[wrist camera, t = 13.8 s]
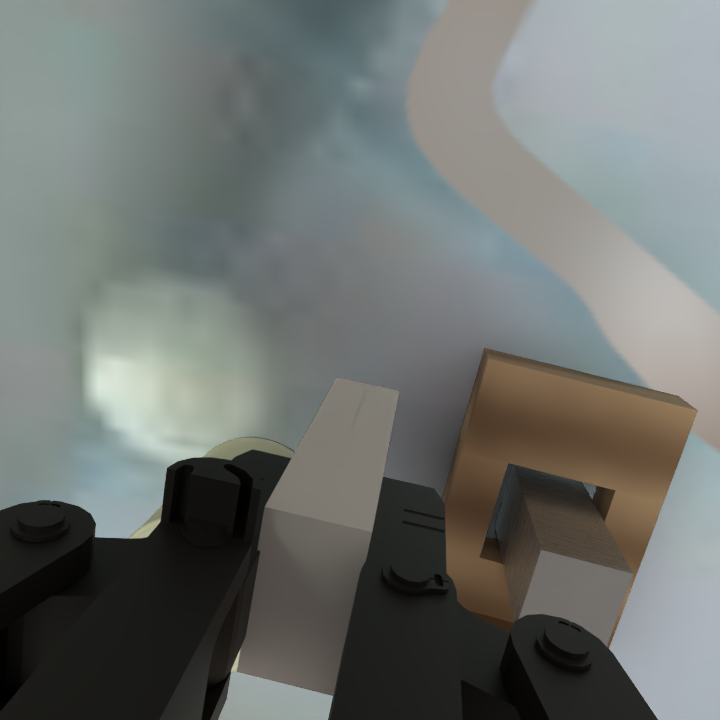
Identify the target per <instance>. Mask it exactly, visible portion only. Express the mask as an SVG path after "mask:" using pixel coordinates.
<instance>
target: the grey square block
mask: <svg viewBox="0 0 720 720" xmlns="http://www.w3.org/2000/svg"><path fill="white" fill-rule="evenodd" d="M495 528H496V533H497V538H498V543H499V548H500V553H501V558H502V563H503V568H504V573H505V578H506V583H507V588H508V593H509V598H510V603H511V608H512V613H513V618H514V622H515V621H516V620H518V619H520V618H522V617H524V616H526V615H534V614H545V615H550V616H555V617H561V618H564V619H567V620H569V621H570V622H574V623H576V624H578V625H580V626H582V627H583V628H584V629H586V630H587V631H589V632H590V633H592V634H593V635H595V636H596V637H597V638H599V639H600V640H601V641H602V642H603V643H604V644H605V645H606V647H607V644H608V642H609V639H610V636H611V633H612V631H613V628H614V625H615V623H616V620H617V617H618V614H619V612H620V609H621V606H622V603H623V601H624V598H625V595H626V593H627V590H628V587H629V584H630V582H631V579H632V576H633V572H632V571H631V569H630V567H629V565H628V563H627V562H626V560H625V558H624V556H623V554H622V553H621V551H620V549H619V547H618V545H617V544H616V542H615V540H614V538H613V536H612V535H611V533H610V531H609V529H608V527H607V526H606V524H605V522H604V520H603V519H602V517H601V515H600V513H599V511H598V510H597V508H596V506H595V504H594V502H593V501H592V499H591V497H590V495H589V493H588V492H587V490H586V488H585V486H584V484H583V483H582V482H580V481H576V480H573V479H569V478H565V477H561V476H557V475H553V474H549V473H545V472H541V471H538V470H534V469H530V468H526V467H522V466H518V465H514V464H513V467H512V470H511V473H510V477H509V480H508V483H507V487H506V490H505V493H504V497H503V500H502V503H501V506H500V510H499V513H498V516H497V520H496V523H495Z"/></svg>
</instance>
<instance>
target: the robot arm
mask: <svg viewBox="0 0 720 720" xmlns="http://www.w3.org/2000/svg"><path fill="white" fill-rule="evenodd" d="M398 396H399V391H398V390H393V389H389V388H384V387H380V386H375V385H371V384H366V383H361V382H357V381H352V380H348V379H343V378H339V377H337V378H336V379H335V381H334V383H333V385H332V387H331V388H330V390H329V392H328V394H327V396H326V397H325V399H324V401H323V403H322V405H321V406H320V408H319V410H318V412H317V414H316V415H315V417H314V419H313V421H312V423H311V424H310V426H309V428H308V430H307V432H306V433H305V435H304V437H303V439H302V441H301V442H300V444H299V446H298V448H297V450H296V451H295V453H294V455H293V457H292V458H289V457H284V456H280V455H276V454H271V453H267V452H263V451H258V450H254V449H252V450H250V451H247V452H245V453H243V454H240V455H238V456H236V457H234V458H233V459H232V460H227V459H220V458H213V457H203V458H190V459H186V460H182V461H178V462H176V463H175V464H173V465H171V466H170V467H168V468H167V473H166V481H165V489H164V497H163V506H162V514H161V522H160V523H159V524H158V525H157V527H156V528H155V529H154V530H153V531H152V532H151V534H150V535H149V536H148V537H145V538H129V539H123V538H97V537H95V527H96V523H95V521H94V519H93V517H92V515H91V514H90V513H88V512H87V511H85V510H84V509H82V508H80V507H79V506H75V505H71V504H68V503H64V502H60V501H50V500H41V501H36V502H29V503H22V504H18V505H15V506H12V507H9V508H6V509H3V510H1V511H0V720H218V718H219V716H220V713H221V711H222V708H223V706H224V704H225V701H226V699H227V693H228V687H229V681H230V675H231V669H232V667H233V664H234V662H235V660H236V657H237V655H238V653H239V651H240V656H239V661H238V667H237V672H240V673H244V674H248V675H252V676H256V677H260V678H264V679H268V680H272V681H276V682H280V683H284V684H288V685H292V686H296V687H300V688H304V689H308V690H312V691H316V692H320V693H324V694H328V695H332V696H333V700H332V705H331V709H330V714H329V718H328V720H658V719H657V718H656V716H655V715H654V713H653V712H652V710H651V709H650V707H649V706H648V704H647V703H646V701H645V700H644V698H643V697H642V696H641V694H640V693H639V691H638V690H637V688H636V687H635V685H634V684H633V682H632V681H631V679H630V678H629V676H628V675H627V674H626V672H625V671H624V669H623V668H622V666H621V665H620V663H619V662H618V660H617V659H616V657H615V656H614V654H613V653H612V652H611V651H610V650H609V649H608V648H607V647H606V645H605V644H604V643H603V642H602V641H601V640H600V639H599V638H597V637H596V636H595V635H593V634H592V633H590V632H589V631H587V630H586V629H584V628H583V627H582V626H580V625H578V624H576V623H574V622H570V621H569V620H567V619H564V618H561V617H555V616H550V615H545V614H534V615H526V616H524V617H522V618H520V619H518V620H516V621H515V622H514V624H513V627H512V629H511V631H510V633H509V632H507V631H505V630H502V629H500V628H498V627H496V626H494V625H492V624H489V623H487V622H486V621H484V620H482V619H480V618H478V617H476V616H475V615H473V614H472V613H471V612H469V611H468V610H467V609H465V608H464V607H463V606H462V605H461V604H460V603H459V602H458V601H457V591H456V588H455V585H454V582H453V580H452V579H451V577H450V576H449V575H448V574H447V567H446V534H445V531H446V527H445V503H444V502H443V500H442V499H441V498H440V496H439V495H438V494H437V492H436V491H435V490H434V488H429V487H425V486H421V485H416V484H412V483H408V482H403V481H399V480H394V479H390V478H386V477H383V474H384V469H385V463H386V458H387V453H388V448H389V443H390V438H391V432H392V427H393V422H394V417H395V412H396V407H397V401H398ZM240 648H241V650H240Z"/></svg>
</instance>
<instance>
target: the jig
mask: <svg viewBox="0 0 720 720" xmlns="http://www.w3.org/2000/svg"><path fill="white" fill-rule="evenodd" d="M697 411H698V410H696V409H695V408H693V407H692V406H691V405H689V404H688V403H687V402H686V401H684V400H683V399H682V398H680V397H679V396H676V395H672V394H668V393H664V392H660V391H656V390H652V389H648V388H644V387H640V386H636V385H631V384H627V383H623V382H619V381H615V380H611V379H607V378H603V377H599V376H595V375H591V374H587V373H583V372H579V371H575V370H571V369H567V368H563V367H559V366H555V365H551V364H547V363H542V362H538V361H534V360H530V359H526V358H522V357H518V356H514V355H510V354H506V353H502V352H498V351H494V350H490V349H486V348H484V352H483V355H482V359H481V362H480V366H479V369H478V373H477V376H476V380H475V383H474V387H473V390H472V394H471V397H470V401H469V405H468V408H467V412H466V415H465V419H464V422H463V426H462V429H461V433H460V436H459V440H458V443H457V447H456V450H455V454H454V457H453V461H452V465H451V468H450V472H449V475H448V479H447V482H446V486H445V489H444V493H443V496H442V500H443V502H444V503H445V527H446V531H445V534H446V567H447V574H448V575H449V576H450V577H451V579H452V580H453V582H454V585H455V588H456V591H457V601H458V602H459V603H460V604H461V605H462V606H463V607H464V608H465V609H467V610H468V611H469V612H471V613H472V614H473V615H475V616H476V617H478V618H480V619H482V620H484V621H486V622H487V623H489V624H492V625H494V626H496V627H498V628H500V629H502V630H505V631H507V632H509V633H510V631H511V629H512V627H513V624H514V618H513V613H512V608H511V603H510V598H509V593H508V588H507V583H506V578H505V573H504V568H503V563H502V558H501V553H500V548H499V543H498V540H496V539H492V538H488V537H486V534H487V531H488V528H489V525H490V521H491V518H492V515H493V512H494V508H495V505H496V502H497V499H498V495H499V492H500V489H501V485H502V482H503V479H504V476H505V472H506V469H507V466H508V463H510V464H514V465H518V466H522V467H526V468H530V469H534V470H538V471H541V472H545V473H549V474H553V475H557V476H561V477H565V478H569V479H573V480H576V481H580V482H584V483H588V484H592V485H596V486H597V489H596V492H595V495H594V498H593V500H592V501H593V502H594V504H595V506H596V508H597V510H598V511H599V513H600V515H601V517H602V519H603V520H604V522H605V524H606V526H607V527H608V529H609V531H610V533H611V535H612V536H613V538H614V540H615V542H616V544H617V545H618V547H619V549H620V551H621V553H622V554H623V556H624V558H625V560H626V562H627V563H628V565H629V567H630V569H631V571H632V572H633V576H632V579H631V582H630V584H629V587H628V590H627V593H626V595H625V598H624V601H623V603H622V606H621V609H620V612H619V614H618V617H617V620H616V623H615V625H614V628H613V631H612V633H611V636H610V639H609V642H608V644H607V648H608V649H609V646H610V644H611V641H612V638H613V636H614V633H615V630H616V628H617V625H618V622H619V620H620V617H621V614H622V612H623V609H624V606H625V604H626V601H627V598H628V596H629V593H630V590H631V588H632V585H633V582H634V580H635V577H636V574H637V572H638V569H639V566H640V564H641V561H642V558H643V556H644V553H645V550H646V548H647V545H648V542H649V540H650V537H651V534H652V532H653V529H654V526H655V524H656V521H657V518H658V516H659V513H660V510H661V507H662V505H663V502H664V499H665V497H666V494H667V491H668V489H669V486H670V483H671V481H672V478H673V475H674V473H675V470H676V467H677V465H678V462H679V459H680V457H681V454H682V451H683V449H684V446H685V443H686V441H687V438H688V435H689V433H690V430H691V427H692V424H693V422H694V419H695V417H696V414H697Z"/></svg>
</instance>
